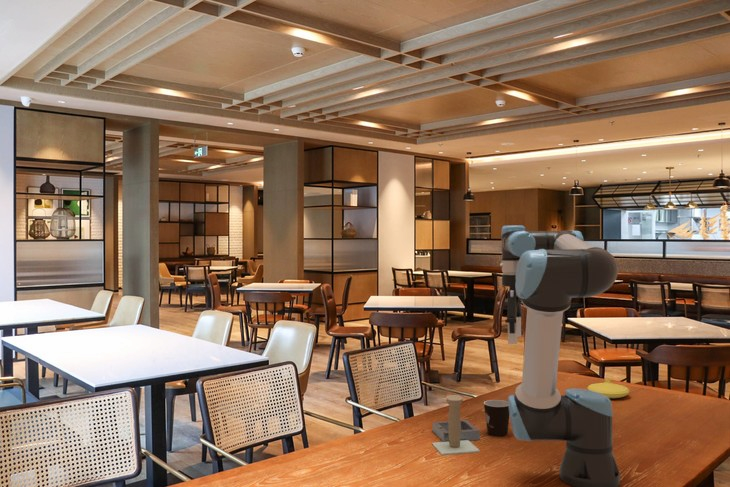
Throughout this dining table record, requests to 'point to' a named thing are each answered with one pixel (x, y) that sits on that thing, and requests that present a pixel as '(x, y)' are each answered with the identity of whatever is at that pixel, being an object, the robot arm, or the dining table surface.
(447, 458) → the dining table surface
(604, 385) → the yellow pattypan squash
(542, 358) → the robot arm
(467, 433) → the silver square frame
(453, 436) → the handle
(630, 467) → the dining table surface
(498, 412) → the coffee mug
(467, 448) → the mat
